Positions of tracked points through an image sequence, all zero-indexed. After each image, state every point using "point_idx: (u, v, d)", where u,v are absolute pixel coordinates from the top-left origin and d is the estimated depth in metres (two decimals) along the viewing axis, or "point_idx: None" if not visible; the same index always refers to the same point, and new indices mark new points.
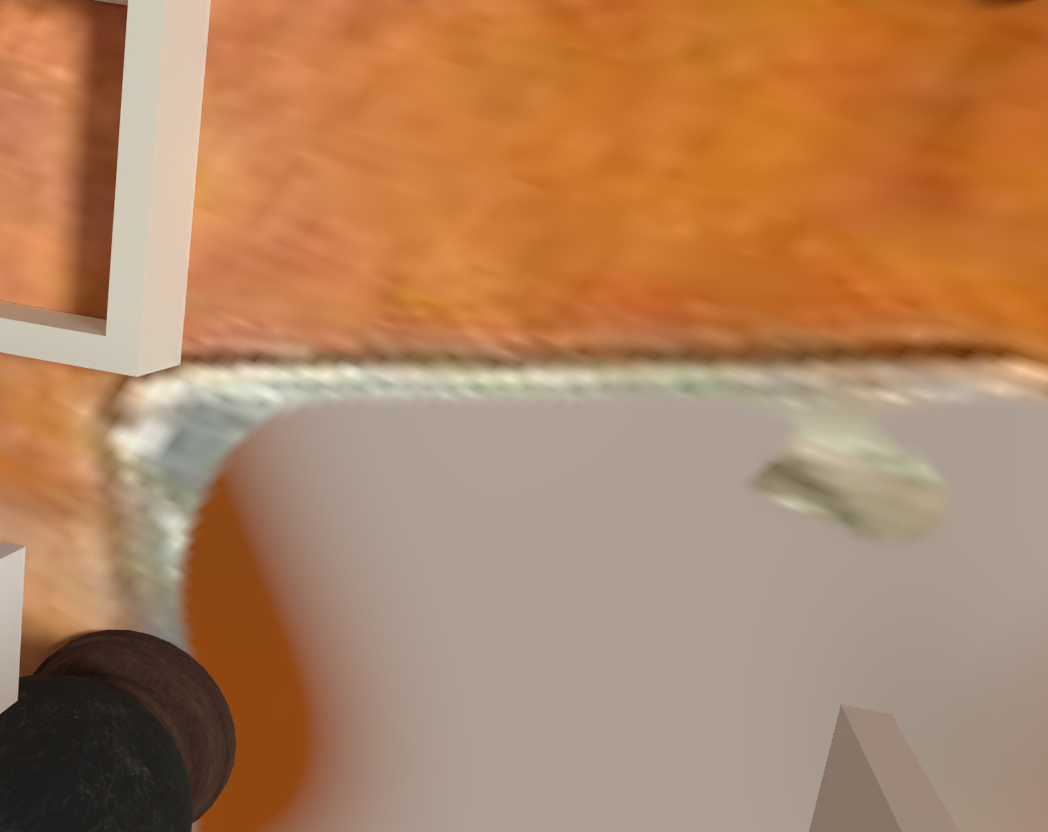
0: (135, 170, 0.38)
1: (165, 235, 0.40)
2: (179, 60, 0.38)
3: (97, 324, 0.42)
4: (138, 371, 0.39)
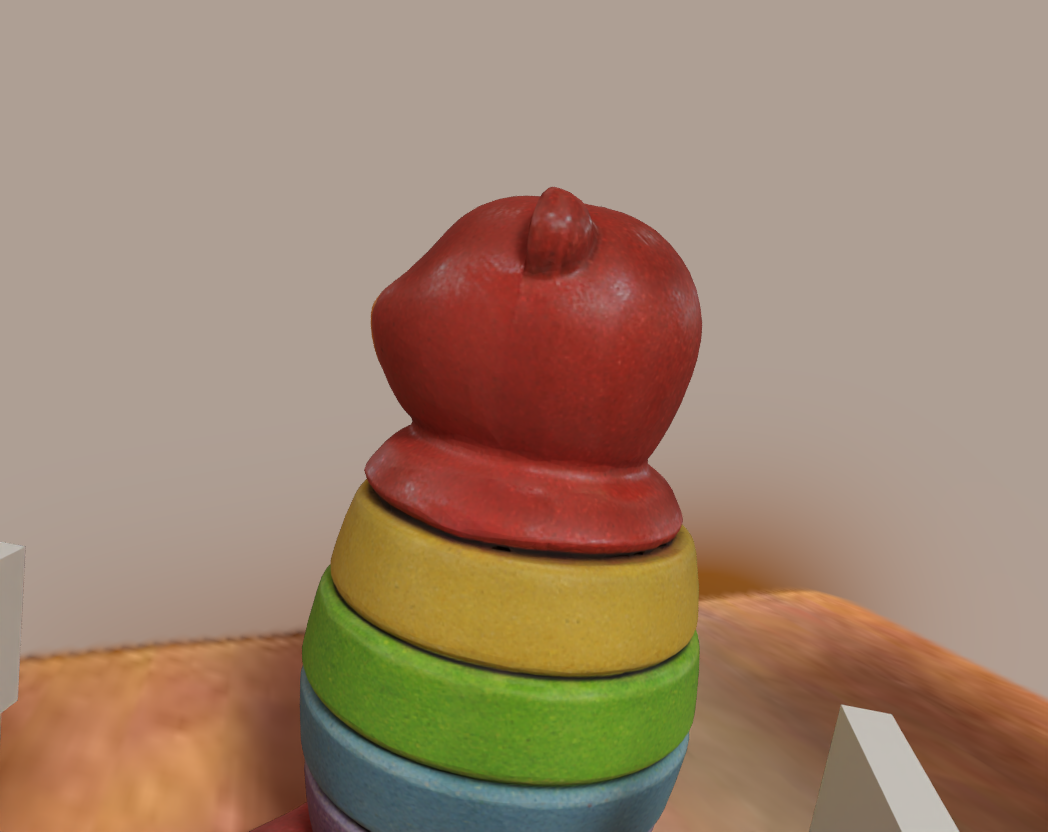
0: None
1: None
2: None
3: None
4: None
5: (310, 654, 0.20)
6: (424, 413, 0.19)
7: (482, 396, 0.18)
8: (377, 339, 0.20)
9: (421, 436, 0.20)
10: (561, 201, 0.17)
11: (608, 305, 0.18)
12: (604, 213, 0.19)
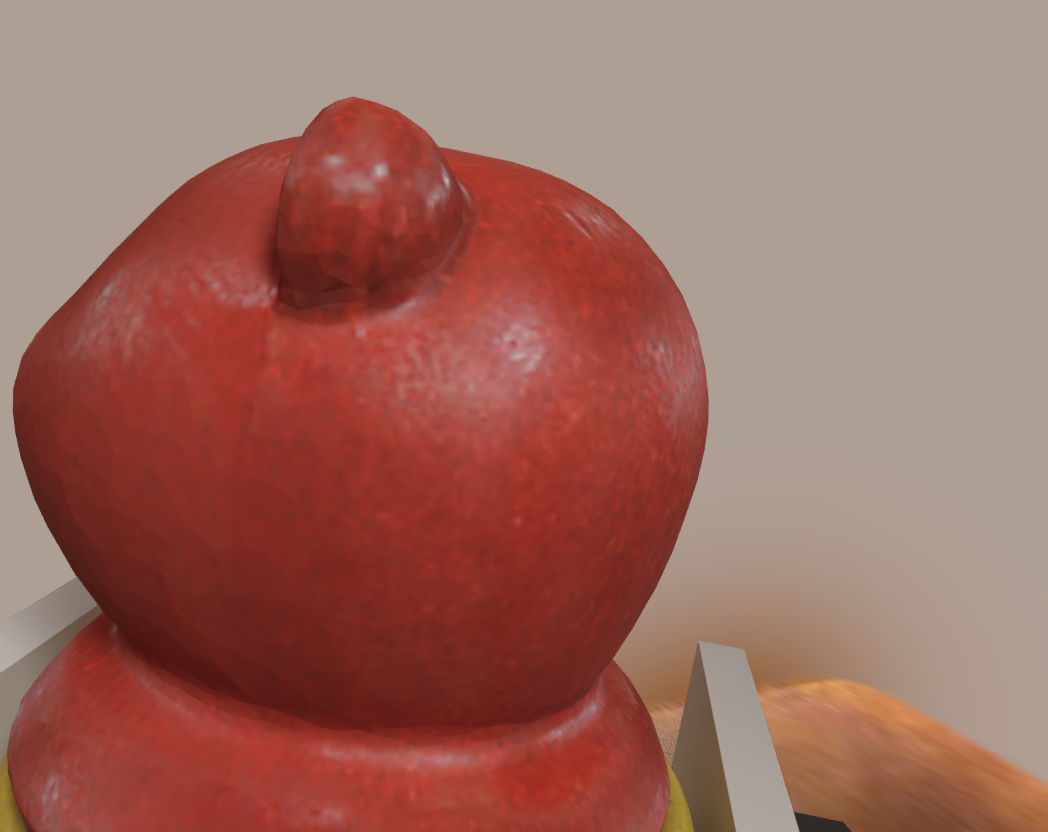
0: None
1: None
2: None
3: None
4: None
5: None
6: (103, 607, 0.09)
7: (194, 598, 0.08)
8: None
9: (120, 643, 0.09)
10: (366, 128, 0.07)
11: (486, 387, 0.07)
12: (494, 168, 0.08)
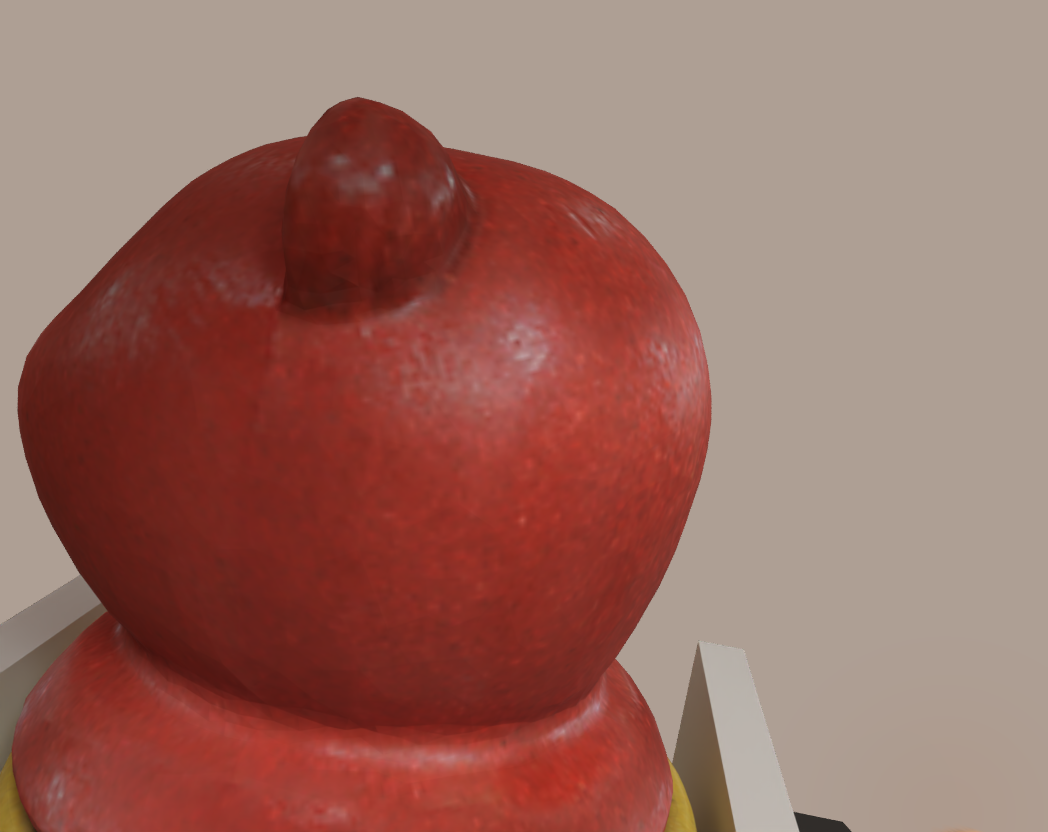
0: None
1: None
2: None
3: None
4: None
5: None
6: (107, 607, 0.09)
7: (198, 598, 0.08)
8: None
9: (125, 642, 0.09)
10: (371, 128, 0.07)
11: (491, 386, 0.07)
12: (498, 168, 0.08)
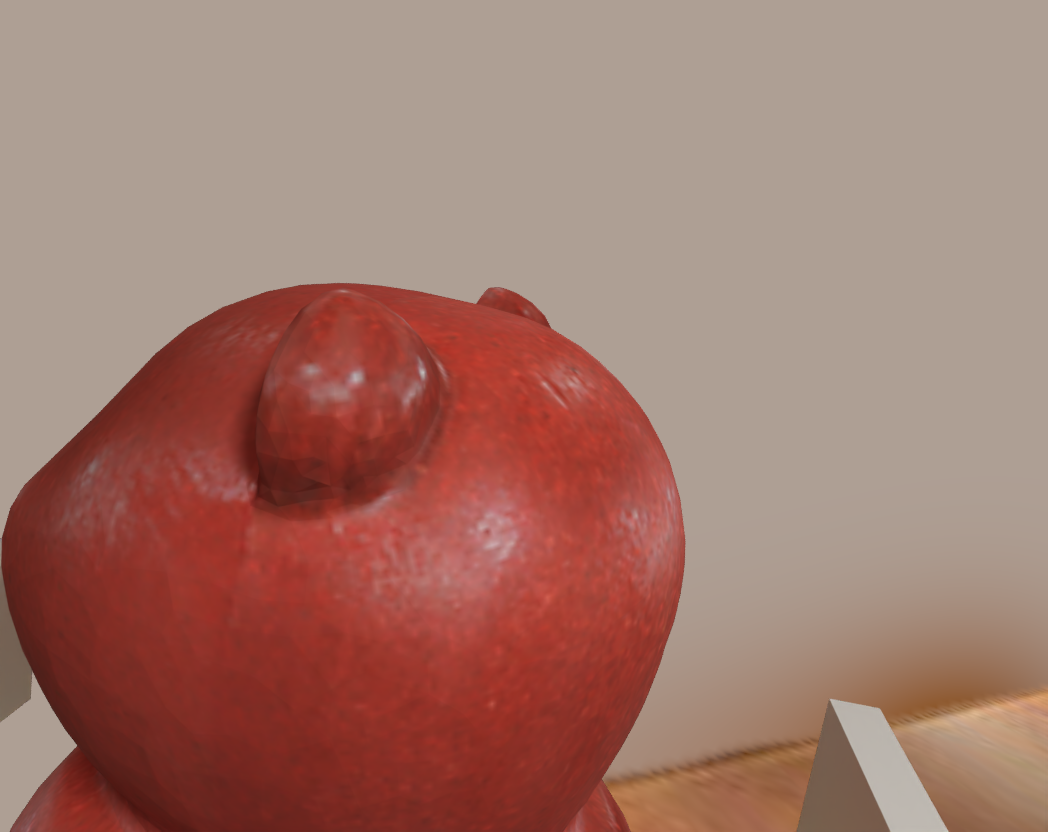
0: None
1: None
2: None
3: None
4: None
5: None
6: (88, 761, 0.09)
7: (175, 776, 0.08)
8: None
9: (107, 783, 0.10)
10: (343, 331, 0.07)
11: (461, 577, 0.07)
12: (472, 335, 0.09)
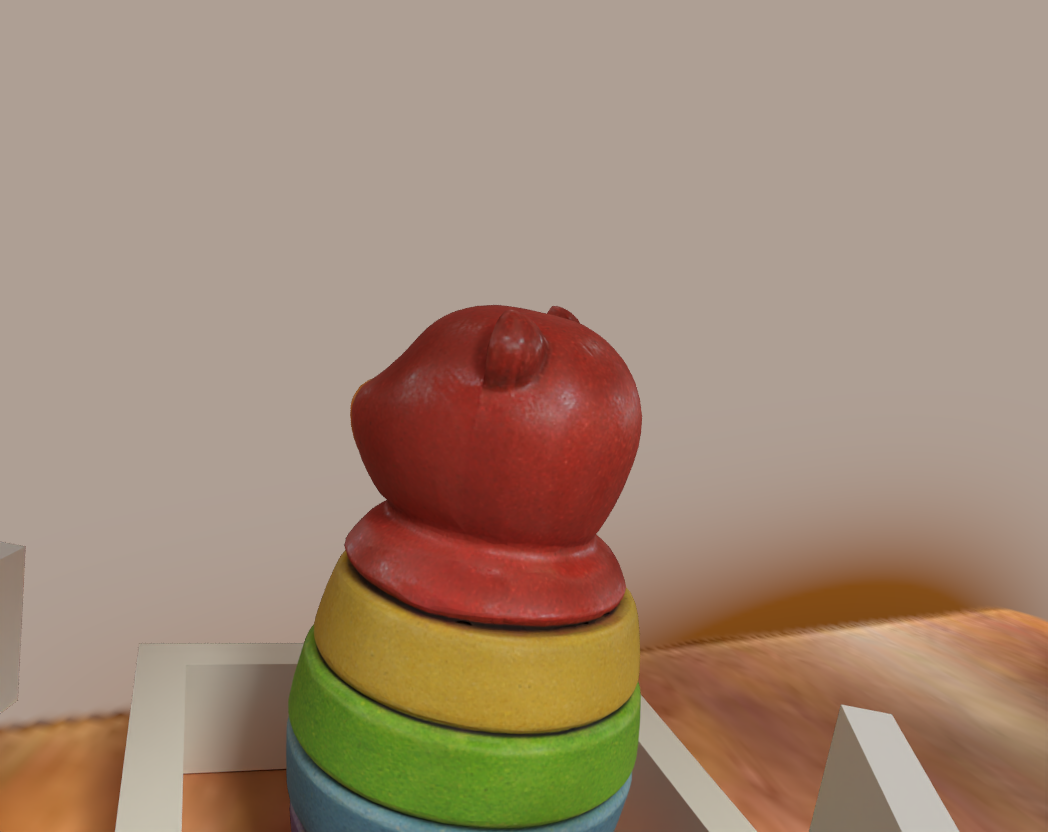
0: None
1: None
2: None
3: None
4: None
5: (295, 709, 0.23)
6: (397, 499, 0.22)
7: (447, 490, 0.21)
8: (356, 432, 0.22)
9: (394, 517, 0.23)
10: (515, 325, 0.20)
11: (556, 414, 0.20)
12: (555, 327, 0.22)
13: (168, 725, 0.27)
